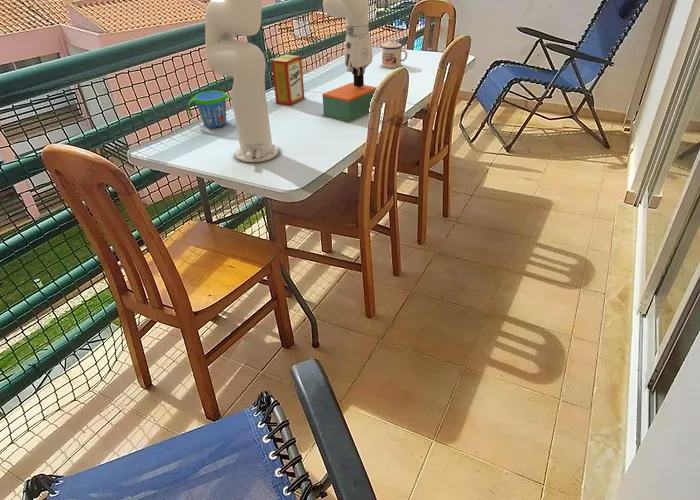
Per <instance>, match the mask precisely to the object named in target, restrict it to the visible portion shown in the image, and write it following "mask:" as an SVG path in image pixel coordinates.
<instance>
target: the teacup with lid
mask: <svg viewBox="0 0 700 500" xmlns="http://www.w3.org/2000/svg"><path fill="white" fill-rule="evenodd" d="M402 47H403V45H402V43H400V42H398V41H396V40H395V39H394V38H392V37H391V38H389V40H388V41H386V42H384V43H382V44H381V66H382V67H384V68H385V69H395V68H399V67H401V65H402V62H405V61H406V60H407V58H408V52H407V50H405V49H402ZM402 52H403V53H404V55H405V57H404V58H403V59H402Z"/></svg>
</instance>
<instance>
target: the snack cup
mask: <svg viewBox="0 0 700 500" xmlns="http://www.w3.org/2000/svg"><path fill="white" fill-rule="evenodd" d="M227 99H229V100H231V101H232V97H231V95H229V94H227V93H225V92H224V91H222V90H206V91H201V92H200V93H197V94H195V95H194V96H193V97H192V98H191V99H190V100H189V102H188V106H187V110H188V114H189V116H190V118H191V119H192V118H193V113H192V110H191V104H193V102H194V104H195V106H196V108H197V109H198V113H199V115H200V118H201V121H202V122H203V125H204V126H205V127H206V128H209V129H210V128H211V129H212V128H213V129H214V128H220V127H222V126H224V125H226V124H227V104H226V101H227Z"/></svg>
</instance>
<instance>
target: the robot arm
mask: <svg viewBox="0 0 700 500" xmlns="http://www.w3.org/2000/svg"><path fill="white" fill-rule="evenodd" d="M322 8H323V11H324V12H325V13H326V15H328V16H330V17H332V18H339V19H345V33H346V34H345V35H346V36H345V39H344V40H345V41H344V64H345V67H347V69H346V71H347V72H349V73H351V75H353V83H354V86H357V87H362V86H364V85H365V84H364V83H365V82H364V77H365V76H364V75H365V72H366V68H367V67H369V66H370V64H372V62H373V46H372V45H373V44H372V38H371V37H372V36H371V33H370V26H369V0H322ZM262 9H263V0H209V2H208V4H207V6H206V9H205V17H204V19H205V20H204V22H205V23H204V24H205V25H204V28H205V31H204V35H205V37H204V39H205V41H204V43H205V59H206V62H207V65H208V66H209V69H210V70H211V71H213V72H214V73H216V74H218V75H221V76H226V77H229V78H233V83H232V87H231V92H230V93H231V94H230V96H231V97H232V100H231V104H232V109H233V115H234V120H235V126H236V127H235V128H236V132H237V138H238V143H239V147H238V148H237V150H236V151H235V158H236V159H237V160H239V161H242V162H245V163H261V162H266V161H269V160H272V159H273V158H275V157H277V156H278V154H279V147H278V146H277V145H276V144H274V143H273V140H272V132H271V131H272V130H271V125H270V117H269V110H268V101H267V93H266V80H265V79H266V57H265V54H264V52H263V51H262V49H260V47H258V46H257V45H256V44H253V43H251V42H249V41H244V40H237V39H236V36H241V37H252V36H256V34H257V33H259V31H260V28H261V25H262V12H263V11H262Z"/></svg>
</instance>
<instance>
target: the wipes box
mask: <svg viewBox="0 0 700 500" xmlns="http://www.w3.org/2000/svg"><path fill="white" fill-rule="evenodd" d="M374 92H375V91H373V92H371V93H369V94H366V95H364V96H361V97H359V98H356V99H354V100H352V101H349V102H347V101H342V100H338V99H334V98H329V97H325V96H323V95H322V106H323V107H322V108H323V116H325V117H329V118H333V119H336V120H341V121H344V122H348V123H350V122H352V121H354V120H356V119H359V118H361V117H363V116H365V115H367V114H369V113H370V112H369V108H370V102H371V99H372V97H373V94H374Z"/></svg>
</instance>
